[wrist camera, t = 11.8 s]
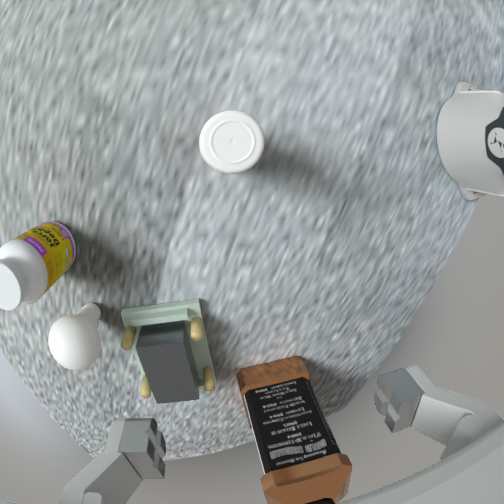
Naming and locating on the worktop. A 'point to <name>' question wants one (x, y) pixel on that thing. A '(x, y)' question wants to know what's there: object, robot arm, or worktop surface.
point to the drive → (168, 361)
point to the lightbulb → (76, 338)
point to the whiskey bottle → (292, 435)
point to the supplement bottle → (34, 263)
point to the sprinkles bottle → (231, 142)
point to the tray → (170, 313)
